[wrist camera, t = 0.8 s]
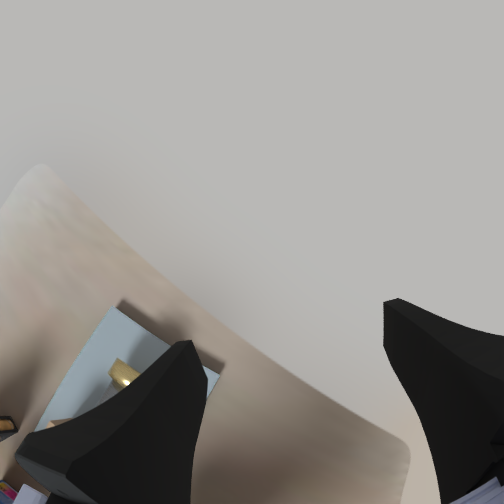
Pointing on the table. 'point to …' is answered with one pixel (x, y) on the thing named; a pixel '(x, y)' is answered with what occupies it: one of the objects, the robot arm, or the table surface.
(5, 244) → the table surface
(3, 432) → the ammunition clip
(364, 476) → the table surface
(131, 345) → the mounting board
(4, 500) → the ink cartridge box
